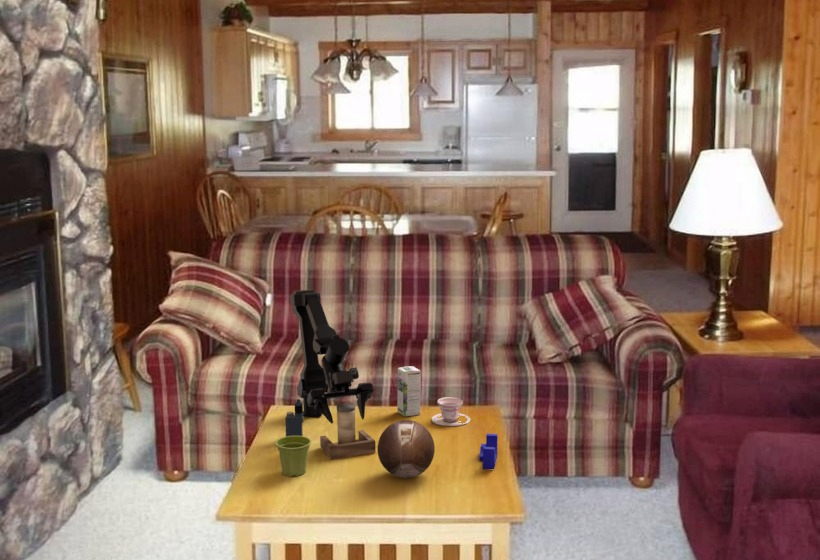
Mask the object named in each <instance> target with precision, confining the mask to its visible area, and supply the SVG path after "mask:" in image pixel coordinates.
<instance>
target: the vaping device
mask: <svg viewBox="0 0 820 560" xmlns="http://www.w3.org/2000/svg"><path fill="white" fill-rule="evenodd" d="M303 411H304V409H303V401H301V399H299V398H298V399H296V401H295V402H294V412H293V411H287V412H286V415H285V419H284V421H285V437H287V436H304V434H303V431H304V430H303V423H304V416H303Z"/></svg>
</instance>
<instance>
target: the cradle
mask: <svg viewBox="0 0 820 560" xmlns="http://www.w3.org/2000/svg"><path fill="white" fill-rule="evenodd" d="M357 433H358V438H356V442H352V443H346V444H339V445H338V441H337V442H332V441H331V440H330V439H329V438H328V437H327V436H326V435H320V436H319V438H320V439H319V440H320V442H319V443H320V447H321V448H322V449H323V450H322V449H321V448H320V449H321V450H322V451H323V453H325V455H326V456H328V458H330V459H331V460H336V458H337V459H343V457H344V458H349V456H350V457H357V456H362V455H368V454H375V453H377V452H376V448H377V447H376V440H375V439H374V438H373V437H372V436H370V434H369V433H368V432H366V431H365V430H364V429H361V430H358V432H357Z"/></svg>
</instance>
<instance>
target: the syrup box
mask: <svg viewBox="0 0 820 560" xmlns="http://www.w3.org/2000/svg"><path fill="white" fill-rule="evenodd" d="M421 374H422V373H421V370H420V369H418V368H416V367H415V366H413V365H412V366H410V365H409V366H401V367H398V368H397V413H399V414H400V415H402V416H403V417H410V416H413V417H414V416H417V415H421V404H422V403H421V398H422V397H421V395H422V393H421V392H422V390H421V384H422V383H421V382H422V379H421V376H422V375H421Z"/></svg>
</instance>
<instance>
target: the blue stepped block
mask: <svg viewBox="0 0 820 560" xmlns="http://www.w3.org/2000/svg"><path fill="white" fill-rule="evenodd" d="M485 438H486V440H485V443H481V444H480V449H479V456H478V457H479V458H478V459H479V462H482V470H484V469H494V467H496V464H497V463H496V462H497V458H498V438H499V436H498V433H486V434H485ZM495 463H496V464H495ZM494 470H495V469H494Z"/></svg>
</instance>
